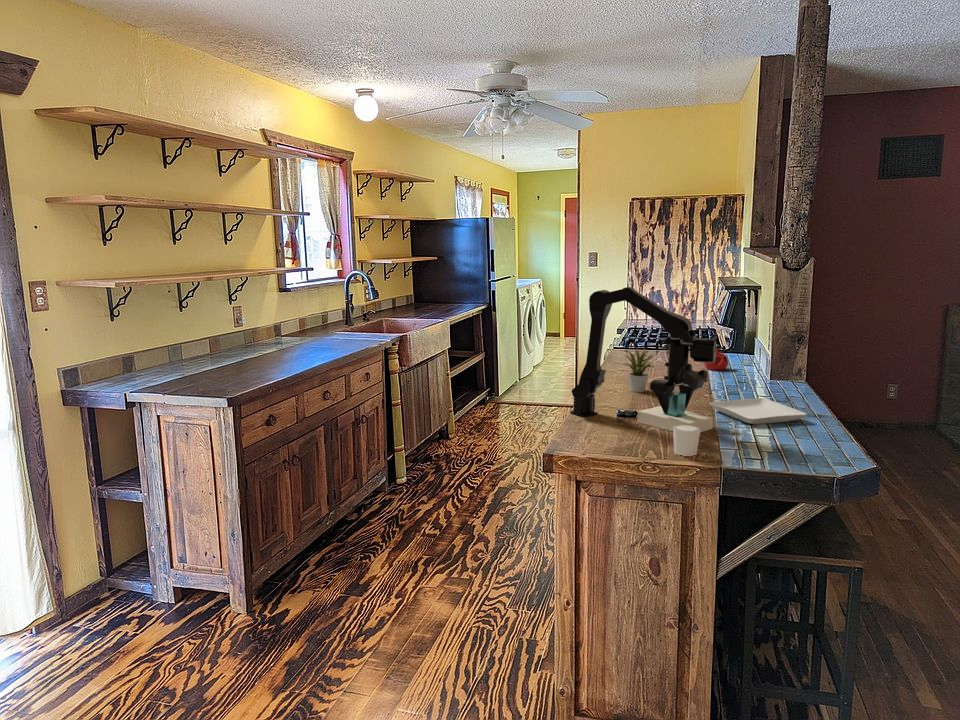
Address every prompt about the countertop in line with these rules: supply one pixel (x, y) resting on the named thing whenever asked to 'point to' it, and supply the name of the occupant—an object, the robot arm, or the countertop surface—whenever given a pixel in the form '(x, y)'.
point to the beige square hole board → (673, 419)
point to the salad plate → (758, 411)
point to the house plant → (638, 371)
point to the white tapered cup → (686, 439)
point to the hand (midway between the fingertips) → (675, 411)
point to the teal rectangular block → (677, 405)
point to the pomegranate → (718, 362)
